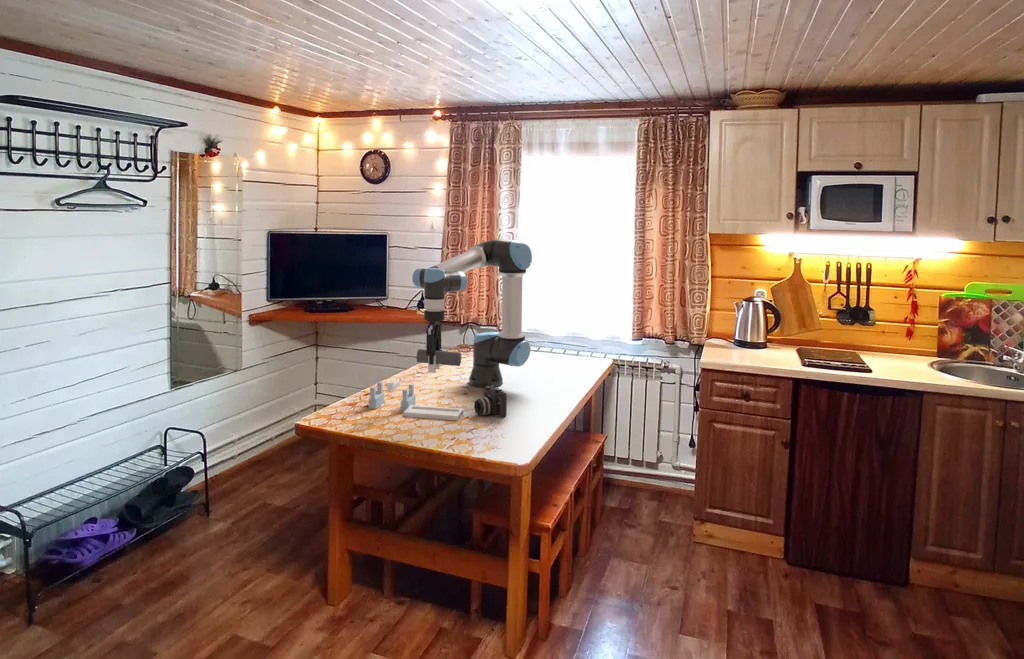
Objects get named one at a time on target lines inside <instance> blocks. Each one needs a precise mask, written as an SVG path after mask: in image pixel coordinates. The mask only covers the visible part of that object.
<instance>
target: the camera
mask: <svg viewBox="0 0 1024 659" xmlns="http://www.w3.org/2000/svg"><path fill="white" fill-rule="evenodd" d="M507 396H508V395H507V392H505V391H504V390H503V389H502V388H500V387H497V388H496V387H493V385H492V386H486V387H483V394H482V397H479V398H478V399H476V400H475V401H474V406H473V407H474V411H475V413H476V414H477V415H478V416H487V415H491V414H493V415H495V416H497V417H499V418H500V419H501V418H506V417H507V415H508V414H507V413H508V411H507V408H508V406H507V404H508V400H507V398H508V397H507Z"/></svg>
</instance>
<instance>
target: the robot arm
mask: <svg viewBox="0 0 1024 659" xmlns="http://www.w3.org/2000/svg"><path fill="white" fill-rule="evenodd" d="M532 260H533V254H532V250H531V248H530V246H529V244H527V243H526V242H525V241H520V240H515V239H514V240H513V239H498V238H496V239H490V240H486V241H484V242H480V243H478V244H475V245H474V246H471V247H470V248H469V249H468V251H465V252H463V253H461V254H458V255H455V256H454V257H452V258H449V259H446V260H444V261H441V262H440V263H437V264H435V265H433V266H430V267H428V268H416V269H415V270H414V271H413V273H412V277H411V278H412V279H411V280H412V283H413V286H415V287H417V288H420V289H424V290H423V292H424V297H423V299H424V300H422V303H423V305H424V306H423V307H424V311H423V320H424V321H426V322H428V325H427V328H426V330H425V331H426V333H425V334H426V350H427V353H426V356H428V363H427V372H428V373H430V374H431V373H434V374H435V373H437V370H440V368H441V366H440V365H441V364H436V355H435V351H443V349H442V329H443V328H442V327H443V324H442V323H440V322H443V321H445V309H446V308H445V306H446V305H445V298H446V297H445V294H446V293H452V292H460V291H463V290H465V288H466V287H467V286H468V278H467V275H466V274H465V273H467V272H469V271H472V270H473V269H476V268H477V269H481V268H483V267H498V274H500V275H501V277H502V278H501V279H502V280H501V281H502V282H501V284H502V285H501V286H502V288H501V294H502V295H501V331H500V332H498V331H488V332H487V331H486V332H485V331H484V332H480V333H476V334H475V335H474V336H473V343H472V345H473V346H472V347H473V352H472V353H473V354H472V355H473V357H472V360H473V361H472V362H473V364H472V368H471V372H470V375H469V378H468V384H469V385H471V386H473V387H479V388H485V387H486V386H492V385H493V387H494V388H496V387H499V386H502V385H503V384H504V383H503V381H504V379H503V376H502V371H501V369H500V364H501V365H506V366H510V367H518V368H519V367H522V366H523V365H525V364H526V362H528V360H529V358H530V355H531V349H532V348H531V344H530V342H529V341H528V340H526V335H525V333H524V332H523V331H522V330H523V329H522V328H523V327H522V326H523V325H522V324H523V277H524V275H525V274H526V273H527V269H529V268H530V266H531V264H532Z"/></svg>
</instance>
